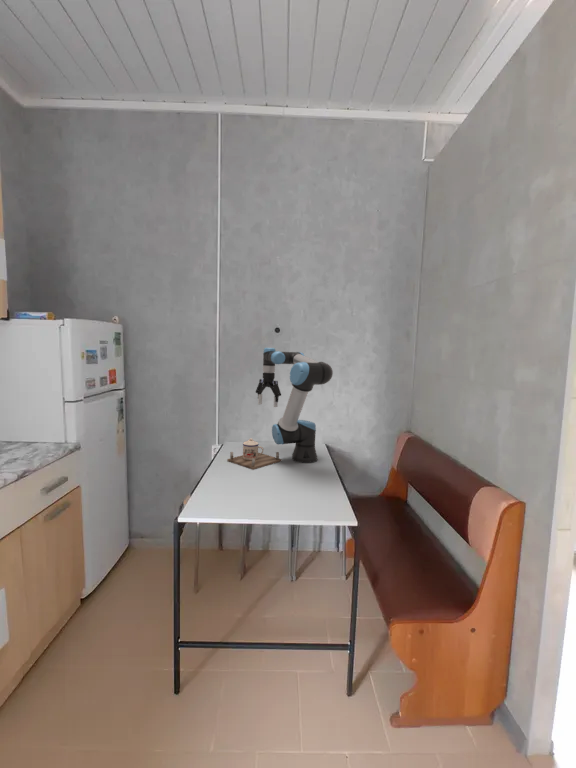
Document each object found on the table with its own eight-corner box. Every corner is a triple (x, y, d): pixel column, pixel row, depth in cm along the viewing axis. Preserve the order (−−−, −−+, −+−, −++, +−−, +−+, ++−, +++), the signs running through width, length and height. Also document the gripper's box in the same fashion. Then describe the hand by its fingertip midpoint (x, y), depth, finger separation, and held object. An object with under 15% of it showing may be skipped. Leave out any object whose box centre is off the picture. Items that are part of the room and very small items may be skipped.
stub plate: (281, 461, 227) (281, 452, 226) (253, 469, 209) (253, 460, 209) (256, 453, 240) (256, 445, 240) (227, 461, 223) (227, 452, 222)
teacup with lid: (241, 460, 221) (242, 440, 220) (243, 456, 230) (244, 436, 229) (262, 461, 221) (263, 441, 220) (263, 456, 230) (264, 437, 229)
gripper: (287, 373, 241) (286, 407, 243) (259, 370, 257) (257, 402, 259) (279, 373, 235) (278, 408, 237) (250, 371, 251) (249, 403, 253)
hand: (267, 405), depth 248 cm, fingers open, 13 cm apart
